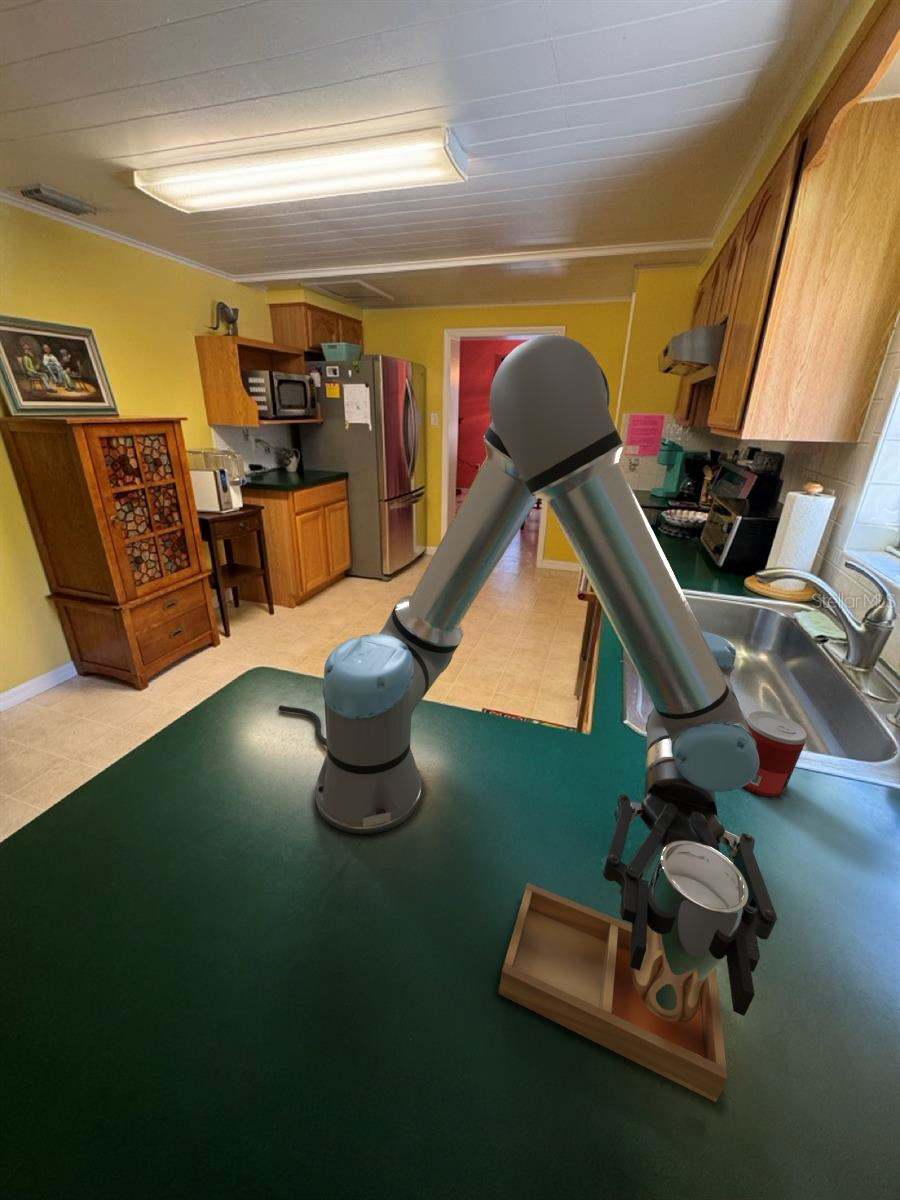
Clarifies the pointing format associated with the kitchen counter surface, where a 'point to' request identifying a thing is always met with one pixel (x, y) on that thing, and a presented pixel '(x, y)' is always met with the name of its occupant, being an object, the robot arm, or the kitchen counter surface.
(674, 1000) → the metal tumbler cup
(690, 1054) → the tray
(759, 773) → the canned food
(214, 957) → the kitchen counter surface
